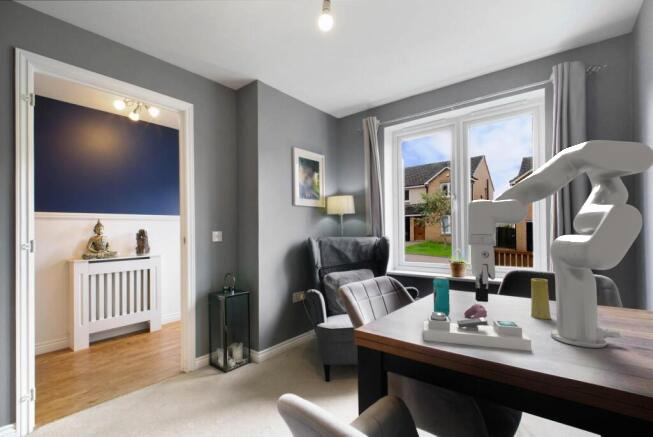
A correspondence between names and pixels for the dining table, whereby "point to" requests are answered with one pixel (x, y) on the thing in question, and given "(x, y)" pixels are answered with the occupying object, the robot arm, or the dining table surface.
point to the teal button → (506, 324)
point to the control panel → (477, 334)
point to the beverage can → (441, 295)
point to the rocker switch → (472, 322)
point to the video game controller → (476, 312)
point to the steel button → (438, 316)
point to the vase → (540, 299)
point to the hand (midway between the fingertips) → (481, 301)
